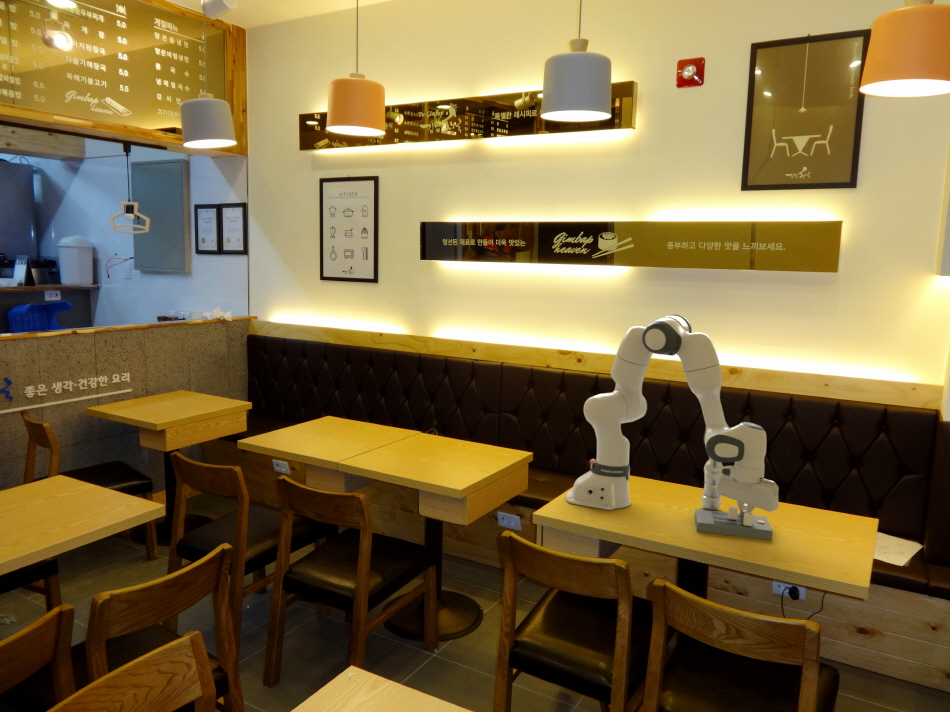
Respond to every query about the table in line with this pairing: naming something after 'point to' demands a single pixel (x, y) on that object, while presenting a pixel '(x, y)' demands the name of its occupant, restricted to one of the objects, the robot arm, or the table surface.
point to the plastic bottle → (711, 485)
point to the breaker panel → (732, 525)
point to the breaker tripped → (732, 513)
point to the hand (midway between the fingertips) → (745, 516)
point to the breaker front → (748, 519)
